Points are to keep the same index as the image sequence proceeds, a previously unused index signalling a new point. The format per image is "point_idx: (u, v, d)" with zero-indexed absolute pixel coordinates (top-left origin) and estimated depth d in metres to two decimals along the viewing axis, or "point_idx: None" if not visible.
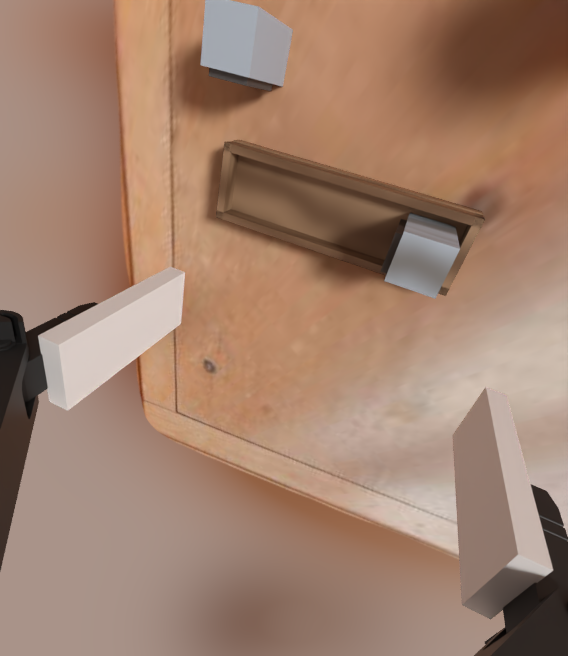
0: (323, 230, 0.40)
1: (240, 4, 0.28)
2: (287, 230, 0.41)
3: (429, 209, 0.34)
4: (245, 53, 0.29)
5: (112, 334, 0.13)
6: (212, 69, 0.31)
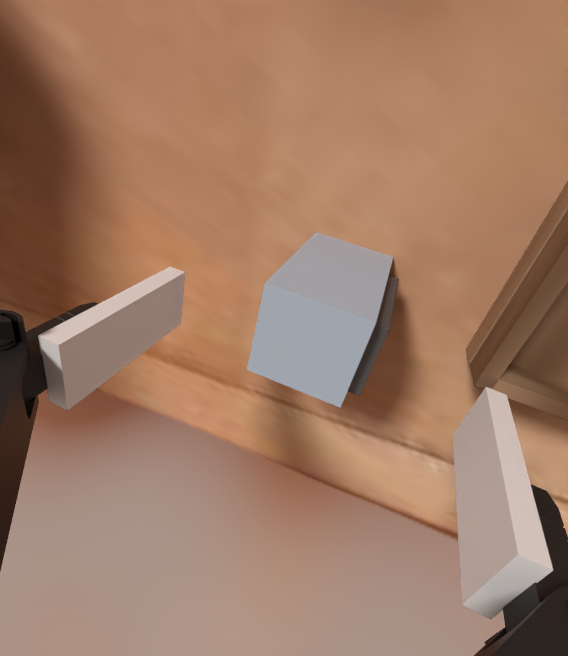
0: None
1: (260, 315, 0.15)
2: None
3: None
4: (333, 320, 0.14)
5: (112, 334, 0.13)
6: (350, 386, 0.16)
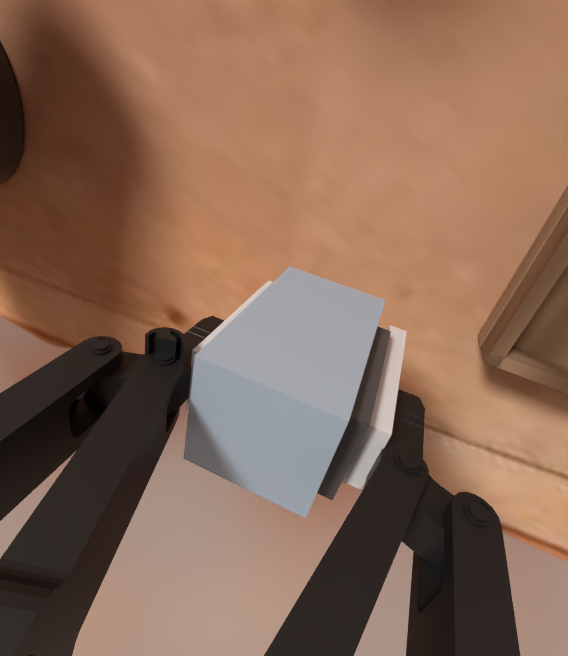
0: None
1: (193, 396, 0.11)
2: None
3: None
4: (288, 412, 0.10)
5: None
6: (320, 488, 0.12)
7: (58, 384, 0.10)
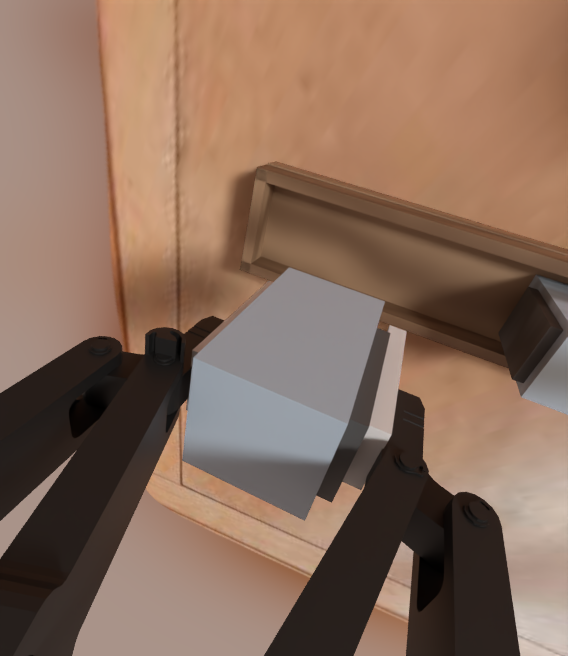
0: (395, 290, 0.28)
1: (192, 398, 0.11)
2: None
3: None
4: (288, 415, 0.10)
5: None
6: (319, 490, 0.12)
7: (58, 384, 0.10)
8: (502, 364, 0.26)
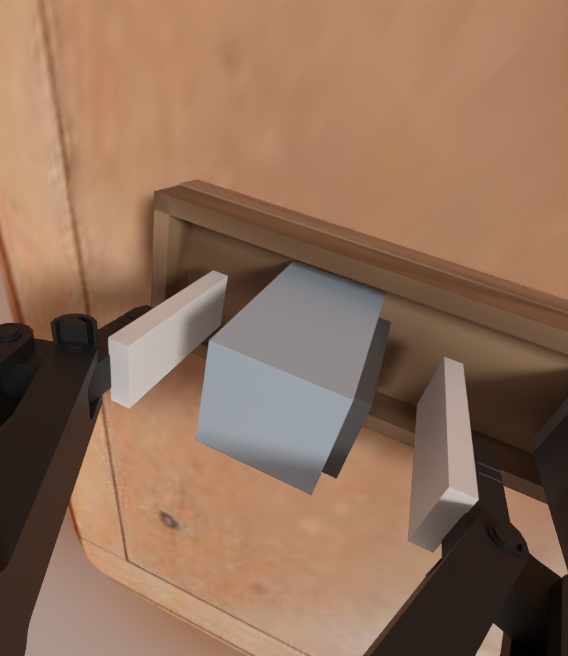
0: None
1: (206, 379, 0.12)
2: None
3: None
4: (297, 393, 0.11)
5: (168, 336, 0.13)
6: (324, 467, 0.13)
7: None
8: (538, 498, 0.17)
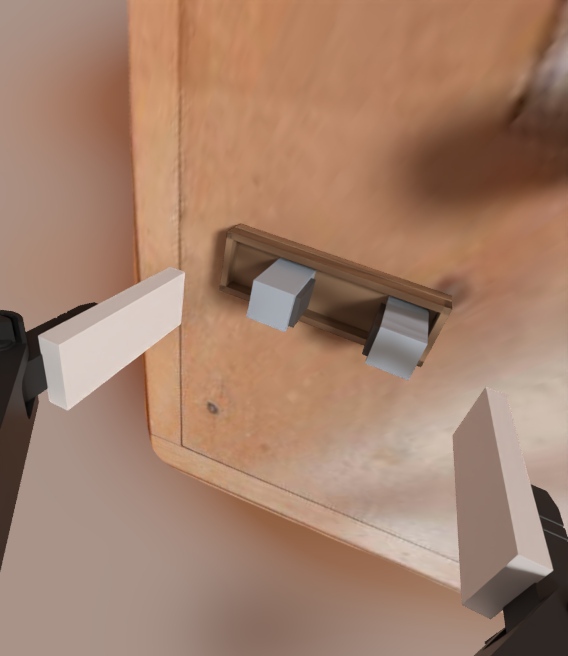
0: (314, 303, 0.45)
1: (252, 293, 0.38)
2: None
3: (405, 297, 0.39)
4: (279, 294, 0.37)
5: (112, 334, 0.13)
6: (289, 323, 0.39)
7: None
8: None
